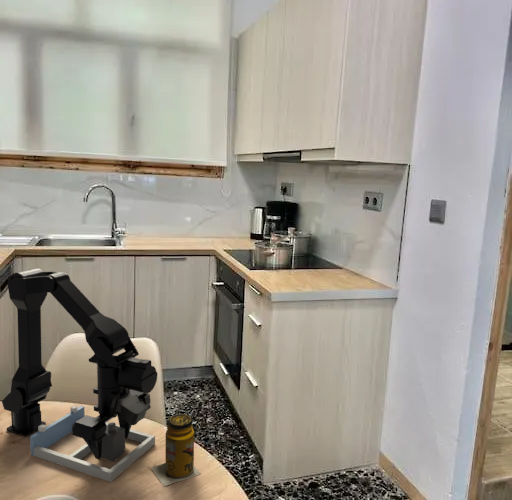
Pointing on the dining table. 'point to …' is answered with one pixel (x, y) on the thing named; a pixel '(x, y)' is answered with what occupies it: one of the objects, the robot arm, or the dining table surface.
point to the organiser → (83, 447)
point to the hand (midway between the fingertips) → (112, 448)
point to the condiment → (178, 451)
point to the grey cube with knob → (113, 442)
